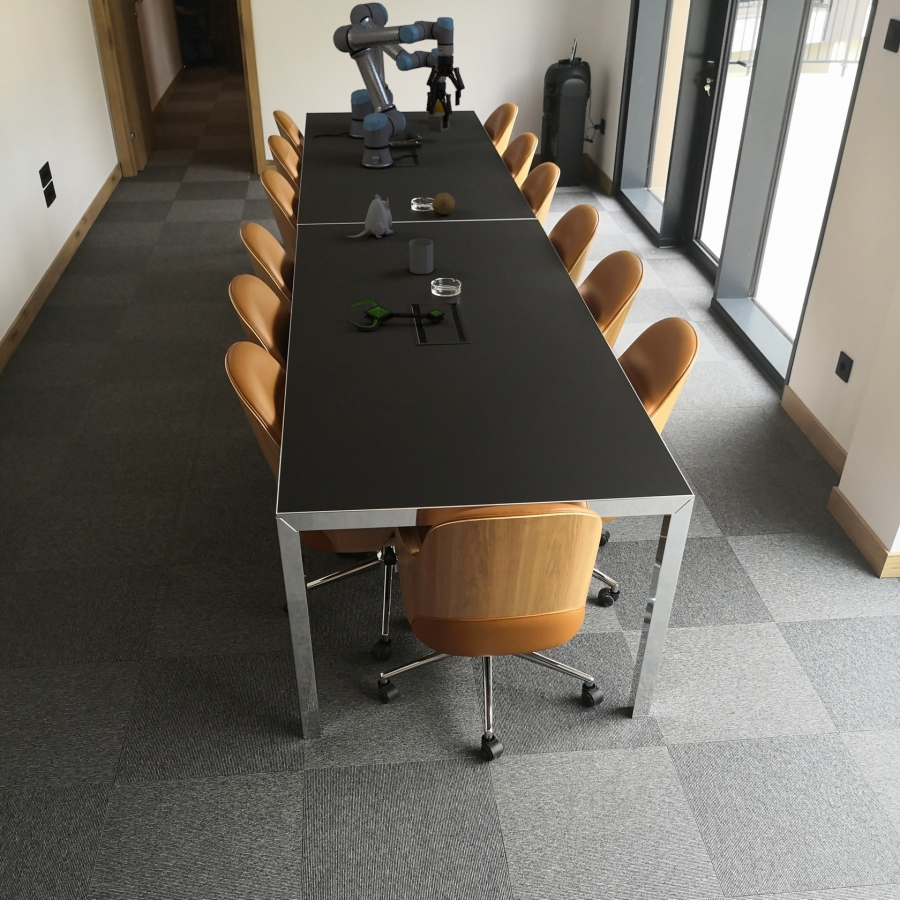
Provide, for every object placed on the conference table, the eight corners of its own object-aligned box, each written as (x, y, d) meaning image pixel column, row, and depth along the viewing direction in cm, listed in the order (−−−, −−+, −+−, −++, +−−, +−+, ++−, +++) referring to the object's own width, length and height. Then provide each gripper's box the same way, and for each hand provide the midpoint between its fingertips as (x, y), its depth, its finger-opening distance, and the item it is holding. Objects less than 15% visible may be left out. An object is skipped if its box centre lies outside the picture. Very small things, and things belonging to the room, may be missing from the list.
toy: (399, 233, 341) (398, 195, 333) (354, 248, 327) (351, 208, 319) (383, 228, 346) (382, 190, 338) (338, 242, 332) (335, 203, 324)
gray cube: (437, 127, 468) (437, 112, 464) (449, 129, 465) (449, 113, 460) (428, 130, 462) (428, 114, 458) (440, 132, 459) (440, 116, 454)
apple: (448, 125, 501) (448, 101, 494) (429, 125, 501) (429, 101, 494) (448, 121, 510) (448, 98, 504) (430, 121, 511) (429, 97, 504)
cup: (409, 265, 311) (408, 238, 306) (432, 265, 312) (431, 238, 307) (410, 274, 304) (409, 246, 299) (433, 273, 305) (433, 246, 299)
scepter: (445, 294, 271) (348, 292, 269) (446, 325, 264) (347, 323, 262) (443, 307, 276) (349, 305, 274) (445, 338, 269) (347, 336, 267)
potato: (453, 208, 369) (453, 189, 365) (456, 218, 357) (456, 199, 353) (431, 208, 368) (430, 189, 364) (432, 218, 356) (432, 199, 352)
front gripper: (418, 53, 402) (419, 101, 414) (463, 58, 390) (463, 108, 402) (427, 51, 407) (428, 99, 419) (472, 56, 396) (471, 105, 407)
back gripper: (418, 80, 453) (419, 125, 465) (451, 84, 443) (451, 130, 455) (426, 78, 458) (427, 123, 470) (459, 82, 448) (459, 128, 460)
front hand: (445, 103), depth 410 cm, fingers open, 13 cm apart
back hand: (439, 126), depth 463 cm, fingers closed on gray cube, 8 cm apart
